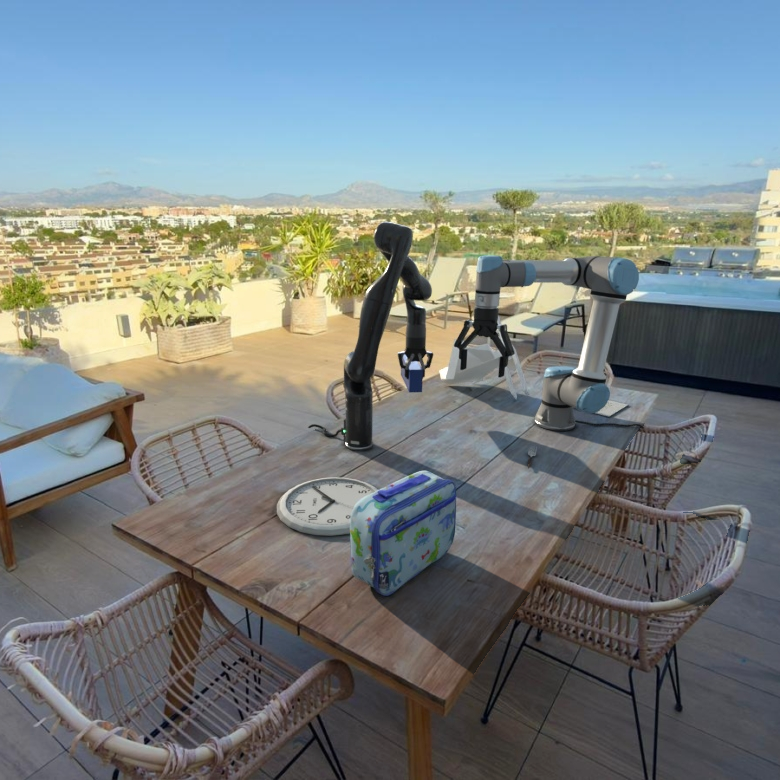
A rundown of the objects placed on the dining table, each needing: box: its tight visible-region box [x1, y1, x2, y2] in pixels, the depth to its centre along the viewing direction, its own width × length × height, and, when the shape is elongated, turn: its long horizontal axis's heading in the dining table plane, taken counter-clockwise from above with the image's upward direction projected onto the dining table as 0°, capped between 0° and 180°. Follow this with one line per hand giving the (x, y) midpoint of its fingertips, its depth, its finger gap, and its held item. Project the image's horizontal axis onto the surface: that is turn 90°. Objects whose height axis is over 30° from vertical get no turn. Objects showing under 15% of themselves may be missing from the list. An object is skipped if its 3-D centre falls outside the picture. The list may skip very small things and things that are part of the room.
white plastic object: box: [438, 315, 531, 400], centre depth 245 cm, size 37×45×31 cm
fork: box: [527, 445, 537, 469], centre depth 172 cm, size 3×16×2 cm, turn 160°
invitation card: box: [595, 399, 629, 418], centre depth 226 cm, size 21×1×15 cm
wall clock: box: [276, 476, 380, 537], centre depth 142 cm, size 30×2×30 cm
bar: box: [400, 354, 424, 393], centre depth 210 cm, size 25×5×9 cm, turn 6°
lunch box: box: [349, 470, 457, 597], centre depth 114 cm, size 26×11×21 cm, turn 134°
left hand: (414, 378), depth 201 cm, fingers closed on bar, 5 cm apart
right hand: (481, 372), depth 169 cm, fingers open, 13 cm apart
